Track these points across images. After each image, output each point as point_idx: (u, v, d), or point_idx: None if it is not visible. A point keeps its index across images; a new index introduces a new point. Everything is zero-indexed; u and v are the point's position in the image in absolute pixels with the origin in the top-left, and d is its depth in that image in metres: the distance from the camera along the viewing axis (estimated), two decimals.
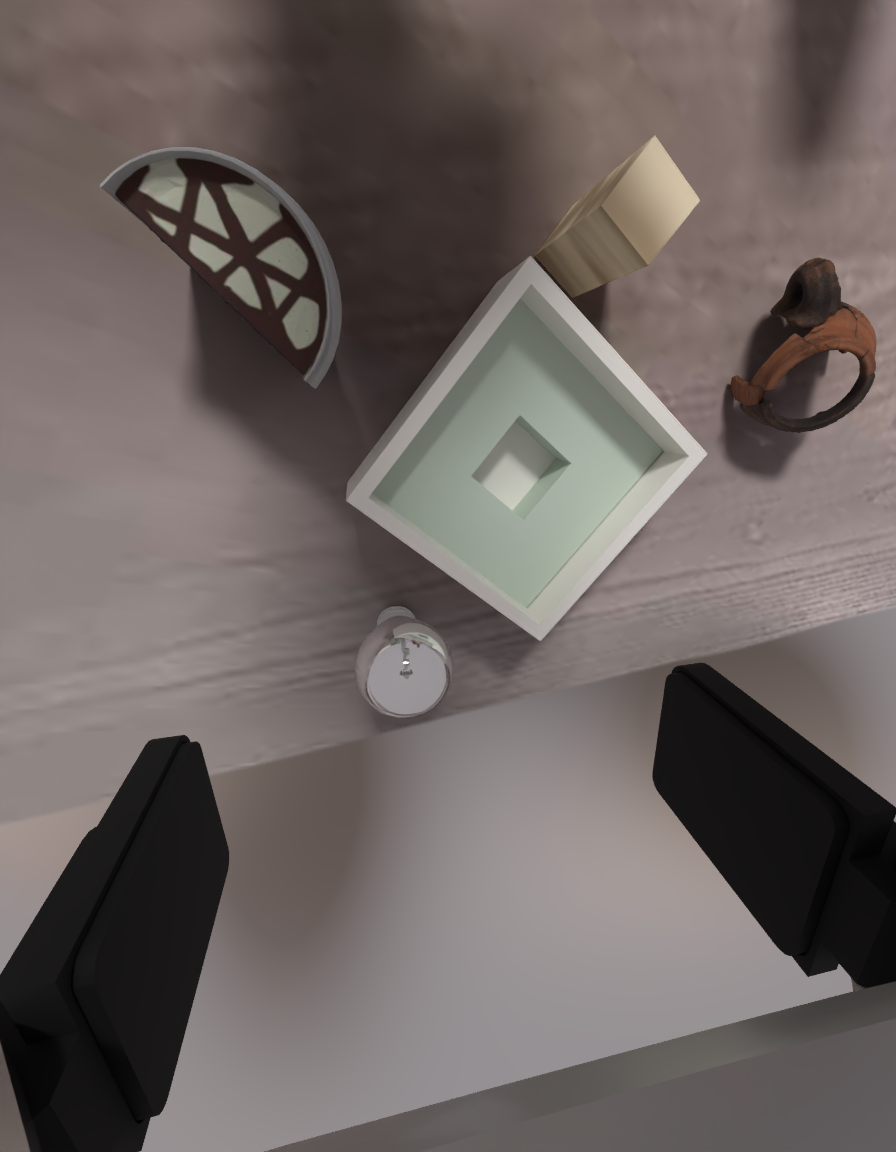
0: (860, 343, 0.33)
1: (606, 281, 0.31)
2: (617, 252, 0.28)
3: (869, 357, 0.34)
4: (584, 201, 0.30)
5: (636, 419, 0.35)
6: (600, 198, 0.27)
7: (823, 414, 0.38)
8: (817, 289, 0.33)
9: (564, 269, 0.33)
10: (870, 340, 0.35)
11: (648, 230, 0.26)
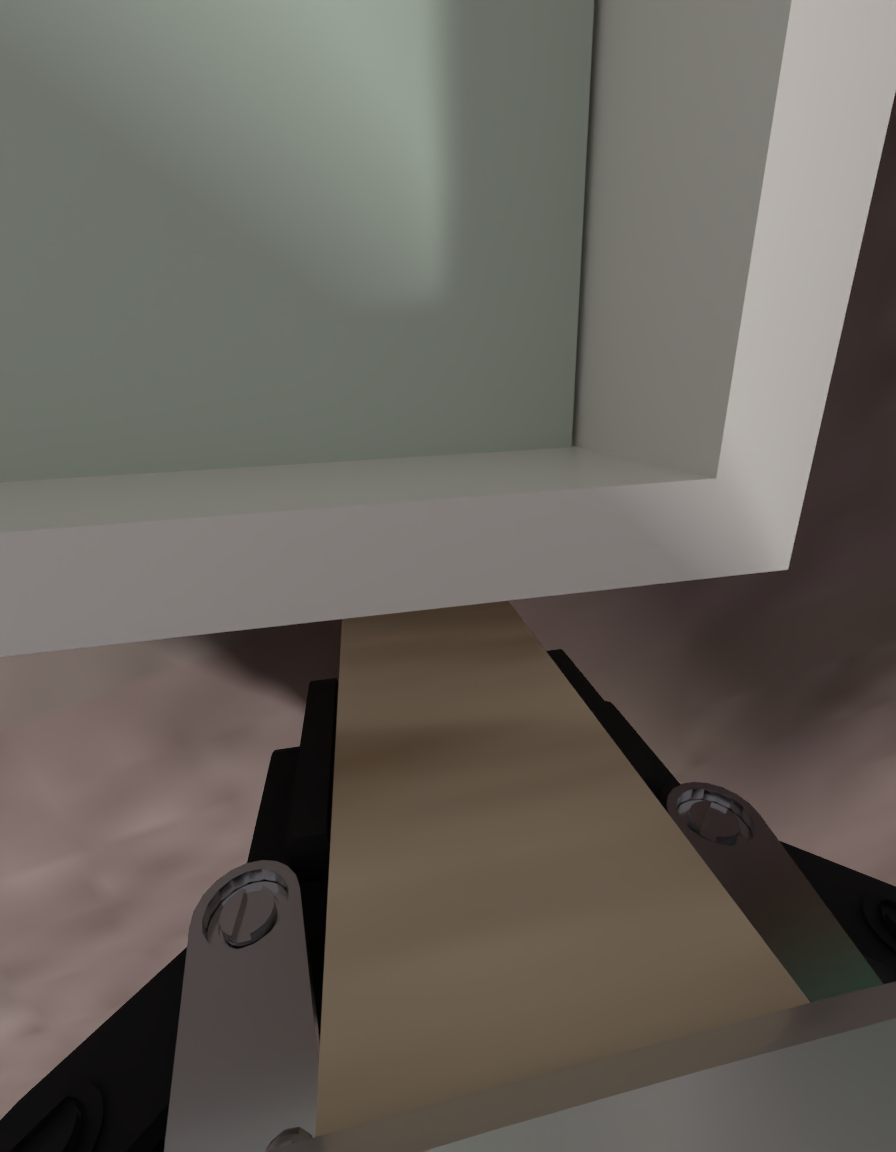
0: None
1: (342, 764, 0.07)
2: (486, 984, 0.04)
3: None
4: None
5: None
6: None
7: None
8: None
9: (441, 639, 0.10)
10: None
11: None
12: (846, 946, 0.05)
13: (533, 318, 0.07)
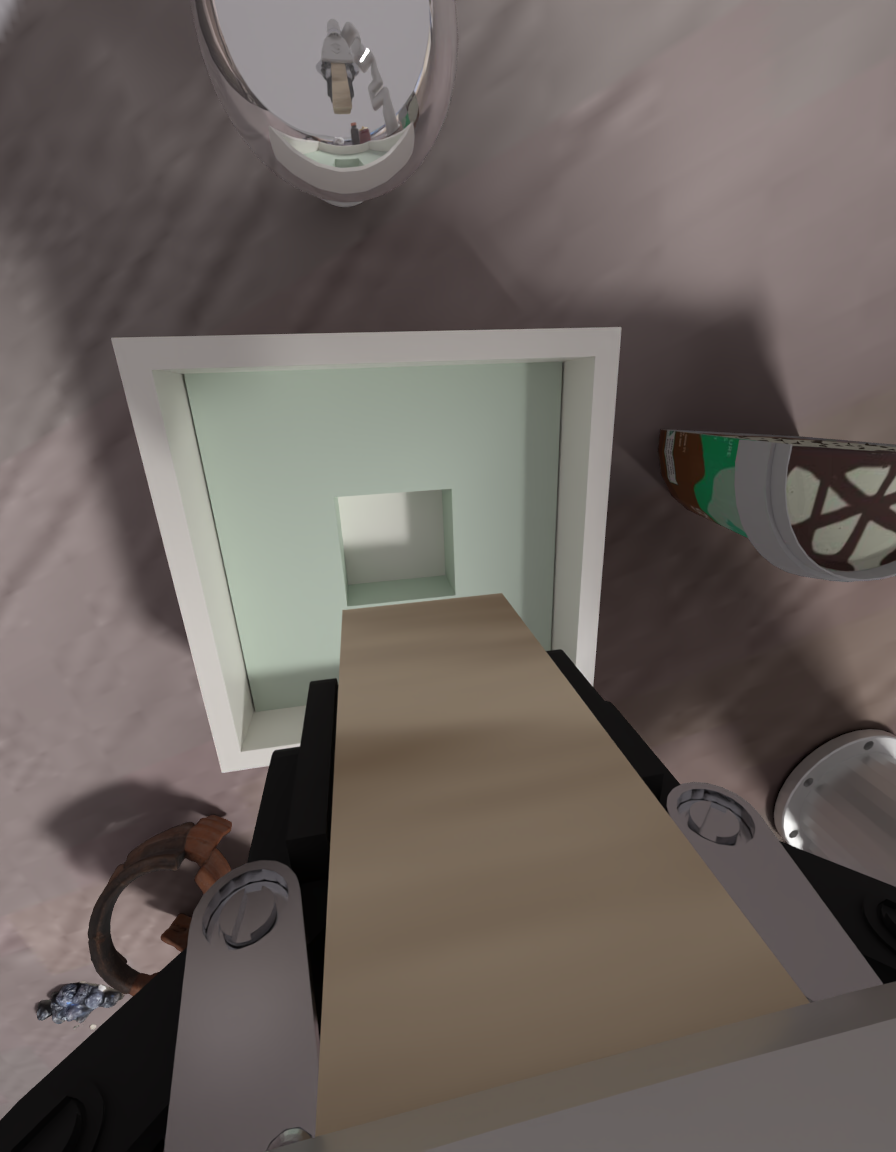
0: None
1: (342, 766, 0.07)
2: (488, 988, 0.04)
3: None
4: None
5: None
6: None
7: (109, 920, 0.27)
8: None
9: (441, 640, 0.10)
10: None
11: None
12: (846, 946, 0.05)
13: None
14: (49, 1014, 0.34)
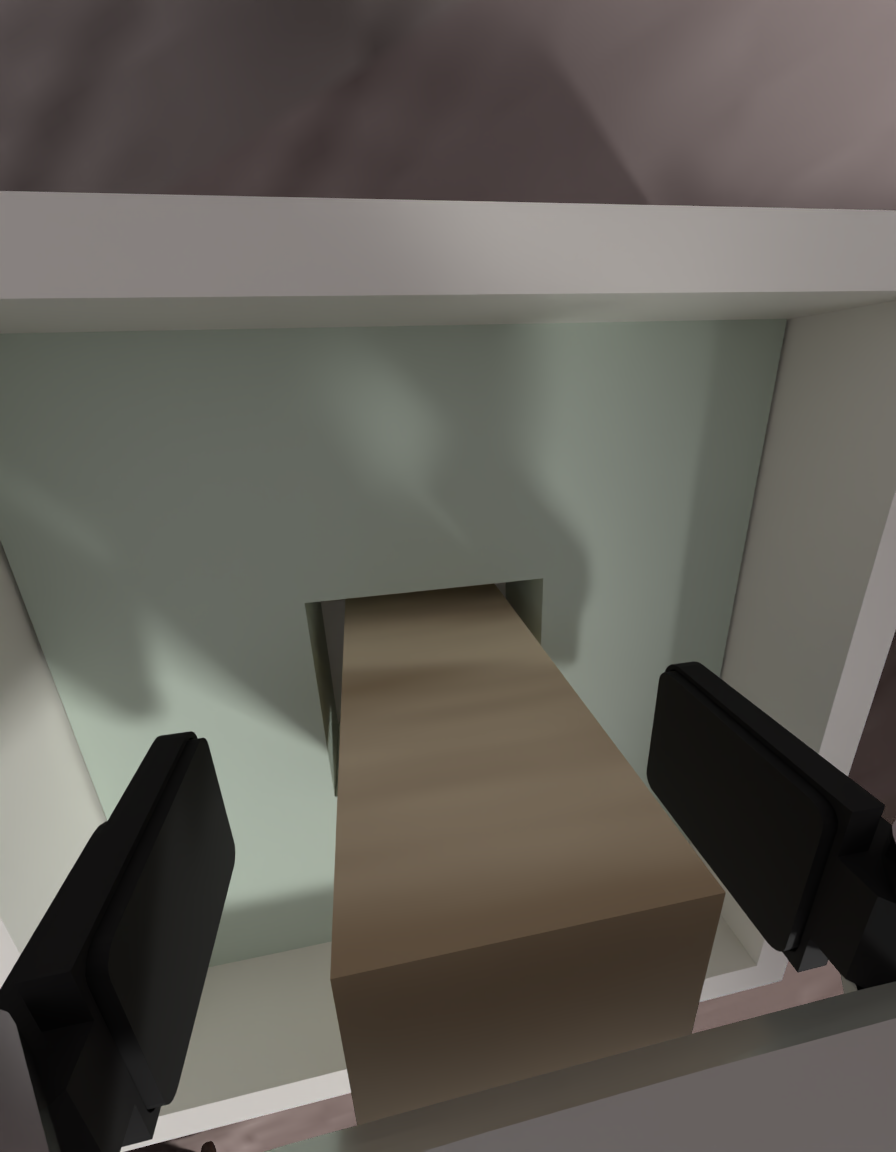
0: None
1: (347, 690, 0.09)
2: (451, 812, 0.06)
3: None
4: None
5: (299, 961, 0.14)
6: None
7: None
8: None
9: (430, 605, 0.12)
10: None
11: (464, 1019, 0.05)
12: None
13: None
14: None
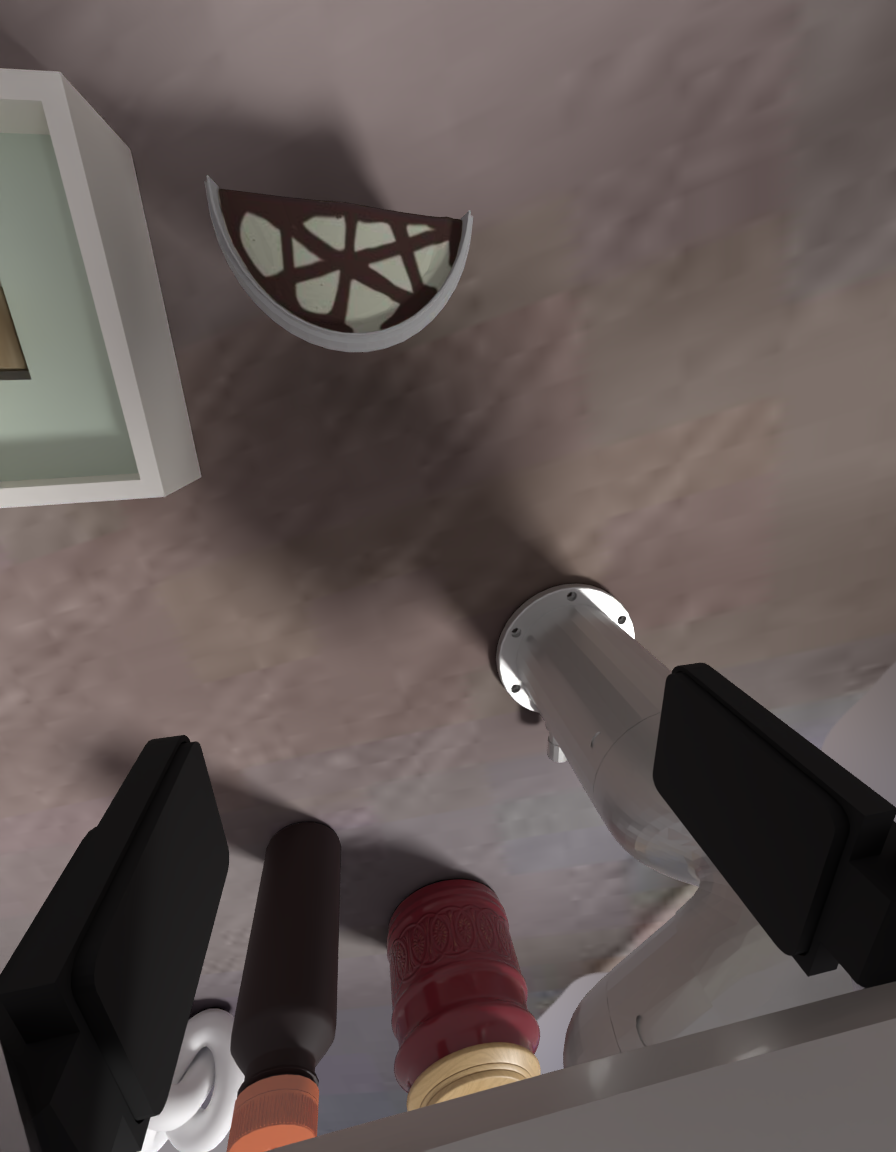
0: None
1: None
2: None
3: None
4: None
5: None
6: None
7: None
8: None
9: None
10: None
11: None
12: None
13: None
14: None
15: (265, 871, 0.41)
